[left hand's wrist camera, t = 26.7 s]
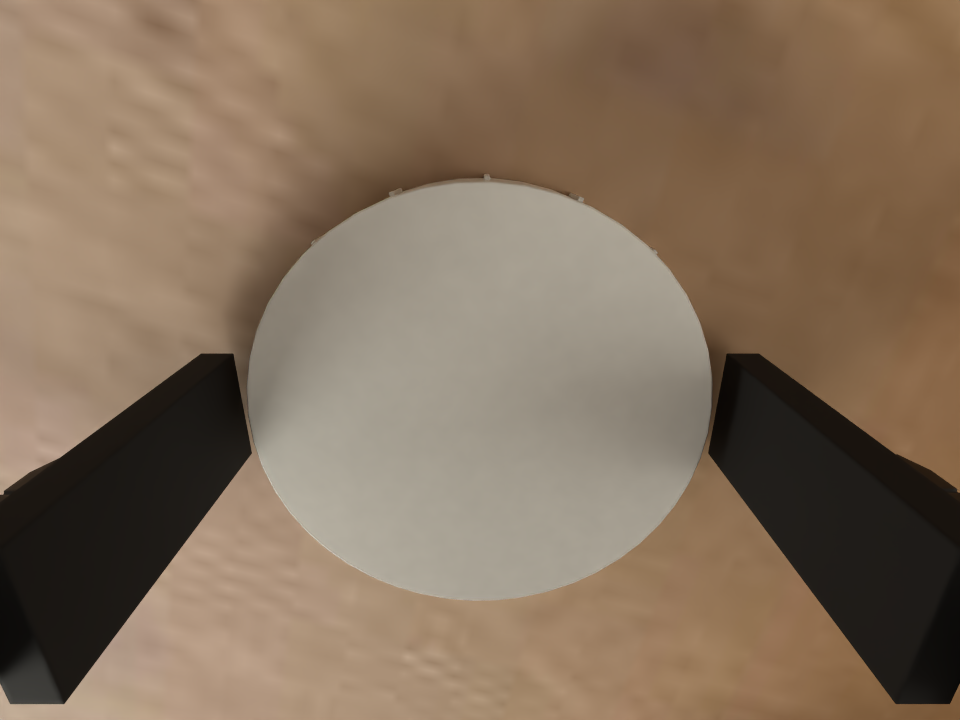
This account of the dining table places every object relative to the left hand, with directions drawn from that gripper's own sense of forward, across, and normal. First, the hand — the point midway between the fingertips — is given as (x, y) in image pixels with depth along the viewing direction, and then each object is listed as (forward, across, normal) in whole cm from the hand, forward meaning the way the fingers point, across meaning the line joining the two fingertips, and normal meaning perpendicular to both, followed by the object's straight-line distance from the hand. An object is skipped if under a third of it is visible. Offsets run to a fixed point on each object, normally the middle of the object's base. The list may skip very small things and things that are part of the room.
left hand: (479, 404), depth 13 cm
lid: (-1, 0, 0) cm, 1 cm away
